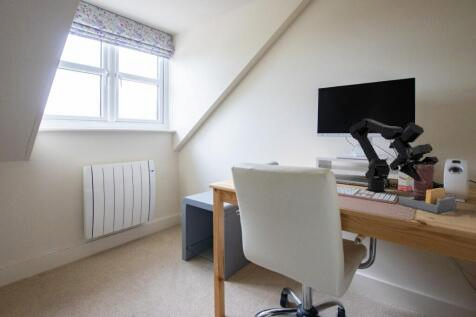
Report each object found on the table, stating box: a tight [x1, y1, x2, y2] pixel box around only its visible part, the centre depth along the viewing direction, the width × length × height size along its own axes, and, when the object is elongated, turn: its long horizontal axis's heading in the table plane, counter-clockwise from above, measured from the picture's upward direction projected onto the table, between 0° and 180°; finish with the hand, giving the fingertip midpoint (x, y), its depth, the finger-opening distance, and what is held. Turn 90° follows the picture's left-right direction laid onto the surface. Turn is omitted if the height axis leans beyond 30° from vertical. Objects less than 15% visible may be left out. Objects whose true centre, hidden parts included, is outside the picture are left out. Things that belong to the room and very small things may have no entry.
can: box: [412, 163, 435, 201], centre depth 101 cm, size 6×6×14 cm
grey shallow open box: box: [398, 196, 457, 215], centre depth 100 cm, size 14×12×5 cm
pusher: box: [426, 187, 446, 205], centre depth 97 cm, size 2×9×7 cm, turn 114°
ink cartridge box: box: [397, 167, 414, 193], centre depth 127 cm, size 9×5×15 cm, turn 111°
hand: (425, 180), depth 100 cm, fingers closed on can, 5 cm apart
